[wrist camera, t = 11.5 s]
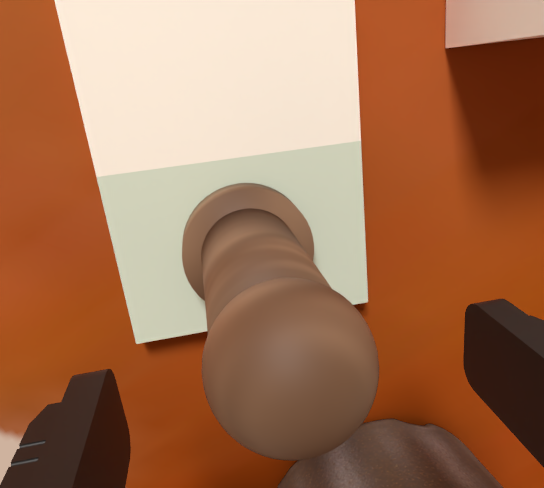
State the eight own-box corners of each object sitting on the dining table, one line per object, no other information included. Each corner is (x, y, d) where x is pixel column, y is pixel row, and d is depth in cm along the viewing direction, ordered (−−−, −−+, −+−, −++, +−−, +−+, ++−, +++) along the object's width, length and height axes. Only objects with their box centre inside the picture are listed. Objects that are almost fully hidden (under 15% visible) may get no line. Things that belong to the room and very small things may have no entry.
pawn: (301, 174, 18) (436, 282, 8) (311, 290, 20) (433, 493, 10) (171, 192, 18) (153, 332, 8) (193, 311, 19) (200, 548, 10)
